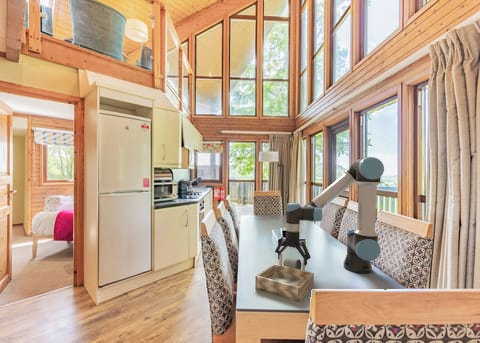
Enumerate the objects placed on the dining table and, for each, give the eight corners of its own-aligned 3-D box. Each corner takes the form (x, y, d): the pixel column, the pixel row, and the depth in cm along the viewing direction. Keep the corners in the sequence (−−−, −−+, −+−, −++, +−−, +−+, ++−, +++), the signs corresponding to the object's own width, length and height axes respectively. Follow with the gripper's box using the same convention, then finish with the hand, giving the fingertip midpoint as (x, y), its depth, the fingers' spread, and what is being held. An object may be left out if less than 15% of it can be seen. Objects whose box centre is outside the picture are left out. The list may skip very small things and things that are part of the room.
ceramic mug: (289, 267, 147) (289, 254, 147) (301, 271, 142) (301, 257, 142) (279, 273, 139) (279, 259, 139) (292, 277, 134) (292, 263, 134)
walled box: (313, 285, 124) (313, 272, 125) (299, 302, 108) (300, 288, 108) (273, 274, 136) (273, 263, 136) (255, 288, 120) (255, 276, 120)
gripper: (269, 228, 145) (269, 265, 145) (312, 235, 131) (312, 275, 131) (275, 226, 151) (274, 261, 151) (316, 232, 138) (316, 271, 137)
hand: (292, 268), depth 141 cm, fingers open, 13 cm apart
